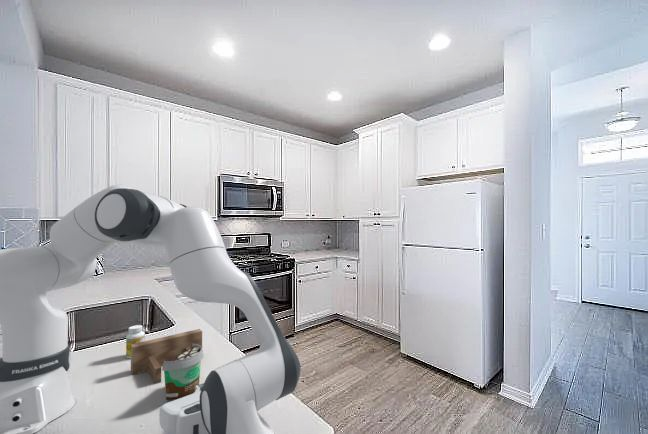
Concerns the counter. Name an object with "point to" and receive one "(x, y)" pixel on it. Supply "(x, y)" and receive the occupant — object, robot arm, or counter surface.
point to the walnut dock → (161, 352)
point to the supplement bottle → (134, 338)
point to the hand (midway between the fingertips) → (201, 386)
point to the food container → (183, 373)
